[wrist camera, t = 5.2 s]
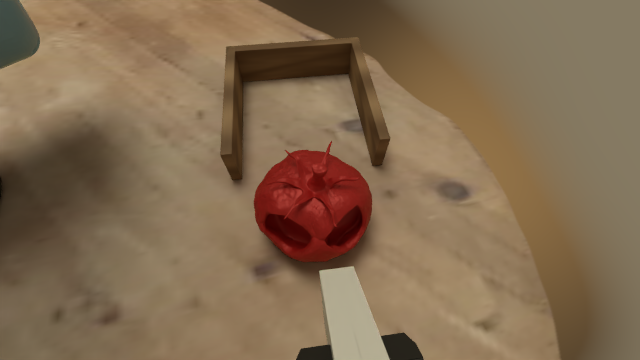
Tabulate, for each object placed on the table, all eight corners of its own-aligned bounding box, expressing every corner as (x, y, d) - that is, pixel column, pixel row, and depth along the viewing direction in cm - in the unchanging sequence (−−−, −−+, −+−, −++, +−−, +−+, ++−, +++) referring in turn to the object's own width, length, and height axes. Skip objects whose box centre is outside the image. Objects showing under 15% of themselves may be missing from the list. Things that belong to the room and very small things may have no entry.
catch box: (381, 164, 32) (390, 138, 28) (232, 180, 31) (220, 154, 27) (354, 68, 40) (358, 37, 36) (235, 77, 39) (226, 46, 35)
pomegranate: (267, 179, 31) (248, 116, 23) (361, 177, 31) (374, 114, 24) (259, 274, 26) (232, 234, 18) (372, 271, 26) (393, 230, 18)
